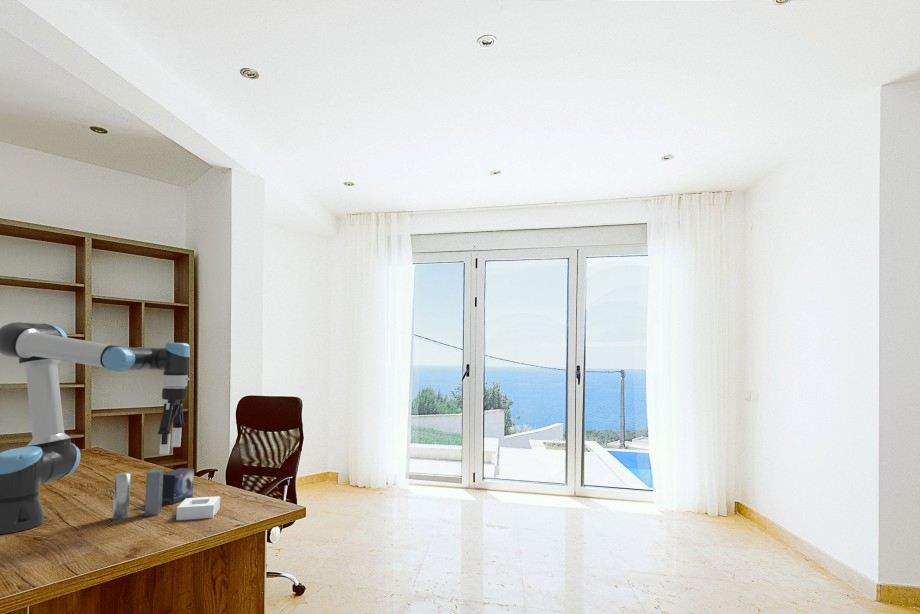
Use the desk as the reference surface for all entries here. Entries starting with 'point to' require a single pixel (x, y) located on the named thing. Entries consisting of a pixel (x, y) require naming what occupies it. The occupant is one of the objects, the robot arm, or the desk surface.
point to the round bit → (121, 496)
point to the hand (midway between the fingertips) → (170, 450)
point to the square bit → (154, 492)
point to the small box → (177, 485)
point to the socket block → (198, 508)
